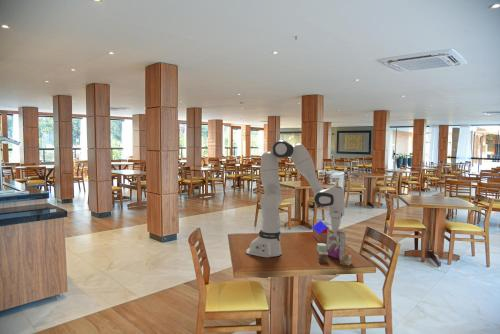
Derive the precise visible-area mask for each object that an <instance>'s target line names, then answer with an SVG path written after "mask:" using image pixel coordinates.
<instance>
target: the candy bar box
mask: <svg viewBox="0 0 500 334" xmlns="http://www.w3.org/2000/svg"><path fill="white" fill-rule="evenodd" d="M326 245H327V248H326V252H327V253H328V257H331V258H334V259H337V260H339V261H340V256H341V255H342V254H346V253H345V252H346V249H345V247H346V232H345V231H342V230H338V231H337V237H334V230H332V228H330V229H327V242H326Z"/></svg>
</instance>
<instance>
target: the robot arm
mask: <svg viewBox="0 0 500 334" xmlns="http://www.w3.org/2000/svg"><path fill="white" fill-rule="evenodd" d="M284 158H290V159H291V160H292V162H293V164H294V166H295V168H296V170H297V171H298V172H299V174H300V175H301V176H302V177H304V178H305V179H306V181H307V183H308V184H309V185H310V186H309V187H310V189H311V191H312V197H313V201H314V203H315V205H316V206H318V207H322V208H324V207H329V208H328V215H329V218H330V222H331V223H330V225H331V229H332V230H334V237H337V231H338V230H339V229H340V226H341V224H342V223H341V220H342V218H343V216H345V205H344V202H345V189H344V188H343V187H342V186H338V185H330V186H329V187H328V188H326V189H325V188H324V187H323V186H322V184H321V183H320V180H319V179H318V177H317V174H316V167H315V163H314V160H313V158H312V157H311V154H310V152H309V151H308V149H307V148H306V147H305V146H304V144H302V143H296V144H295V143H294V145H293V144H290V143H289V142H288V141H287V140H285V139H278V140H277V141H276V142H274V144H273V145H272V149H271V150H270V151H265V152H264V153H262V154H261V157H260V177H261V178H260V179H261V184H262V188H263V193H264V194H263V195H262V196H261V198H260V200H259V205H260V212H261V220H262V225H261V226H262V227H261V229H260V230H259V232H258V236H257V237H256V238H254V239H253V240H252V241H251V242H250V245H249V247H248V248H247V249H246V250H245V251H246V252H245V253H246V254H247V255H252V256H257V257H262V258H267V259H268V258H272V257H279V256H280V255H281V256H282V255H283V252H282V248H281V236H282V235H281V218H280V213H279V209H280V208H279V207H280V206H281V205H282V202H283V195H282V189H281V184H280V176H279V175H280V173H279V160H280V159H284ZM339 231H340V230H339Z"/></svg>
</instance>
